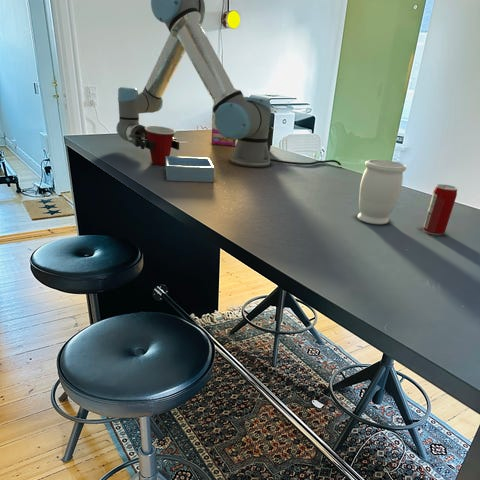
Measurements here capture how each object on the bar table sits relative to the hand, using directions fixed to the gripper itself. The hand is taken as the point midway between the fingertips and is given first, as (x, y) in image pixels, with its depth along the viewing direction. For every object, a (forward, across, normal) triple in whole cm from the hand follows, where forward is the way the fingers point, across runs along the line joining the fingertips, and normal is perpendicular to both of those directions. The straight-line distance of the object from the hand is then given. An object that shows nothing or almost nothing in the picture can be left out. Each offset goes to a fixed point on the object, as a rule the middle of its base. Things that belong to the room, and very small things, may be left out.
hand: (166, 146), depth 155 cm
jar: (+74, -25, -7) cm, 79 cm away
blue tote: (+15, -1, -7) cm, 17 cm away
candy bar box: (-34, -47, -7) cm, 59 cm away
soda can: (+88, -33, -7) cm, 94 cm away
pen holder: (-17, -56, -7) cm, 59 cm away
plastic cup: (-5, 0, -7) cm, 8 cm away
